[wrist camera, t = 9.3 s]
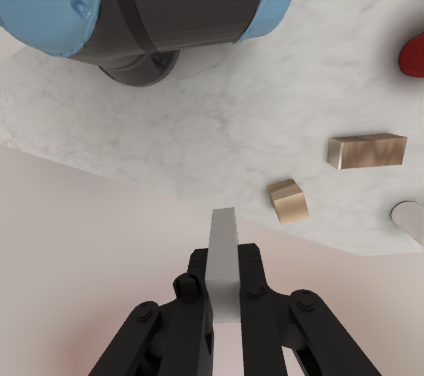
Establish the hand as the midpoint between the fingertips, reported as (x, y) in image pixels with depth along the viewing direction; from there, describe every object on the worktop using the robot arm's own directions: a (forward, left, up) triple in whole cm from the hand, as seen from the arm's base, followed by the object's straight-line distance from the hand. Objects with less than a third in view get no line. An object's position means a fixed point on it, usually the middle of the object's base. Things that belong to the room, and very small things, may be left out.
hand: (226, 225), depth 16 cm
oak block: (+10, +11, -29) cm, 32 cm away
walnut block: (+2, +19, -27) cm, 33 cm away
